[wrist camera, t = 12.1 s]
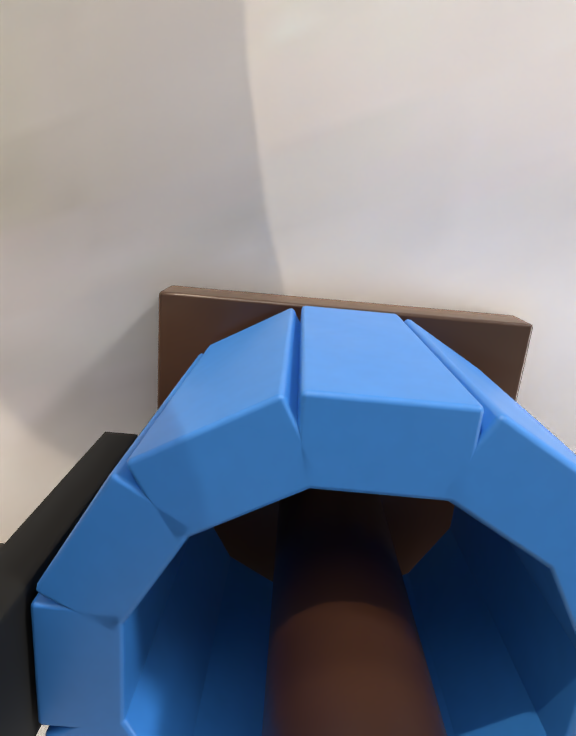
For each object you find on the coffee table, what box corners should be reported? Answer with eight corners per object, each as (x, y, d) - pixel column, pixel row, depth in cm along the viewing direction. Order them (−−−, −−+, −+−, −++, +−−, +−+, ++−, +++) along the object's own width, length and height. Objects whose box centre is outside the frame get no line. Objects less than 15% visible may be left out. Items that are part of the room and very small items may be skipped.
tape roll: (153, 291, 12) (11, 364, 6) (546, 327, 12) (777, 433, 6) (149, 614, 14) (47, 881, 9) (473, 644, 14) (586, 931, 9)
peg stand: (170, 284, 13) (-299, 538, 3) (515, 315, 14) (1280, 674, 3) (164, 576, 16) (-97, 1269, 6) (454, 601, 16) (747, 1341, 6)
